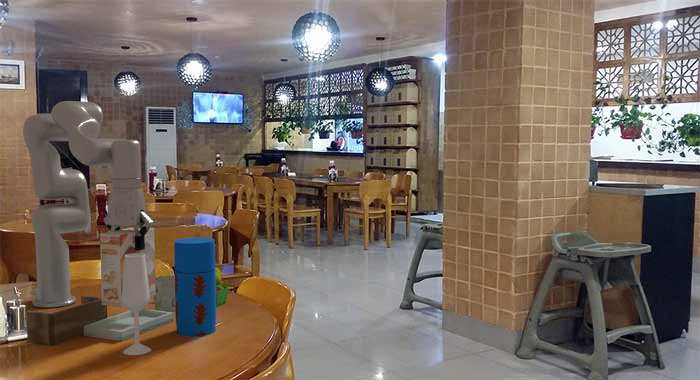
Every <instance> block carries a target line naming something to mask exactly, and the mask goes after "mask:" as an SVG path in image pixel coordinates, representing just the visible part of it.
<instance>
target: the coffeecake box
mask: <svg viewBox="0 0 700 380" xmlns="http://www.w3.org/2000/svg"><path fill="white" fill-rule="evenodd" d="M139 230H140V228H139ZM135 236H137V235H136V233H135V230H134V228H133V227H126V228H124V229H123V228H122V229H121V230H116V231H111V232H110V231H107V232H101V233H99V247H100V283H101V284H100V286H101V288H100V289H101V290H100V291H101V298H102V305H107V306H110V307H119V308H123V307H125V306H124V304H123V303H122V288H123V274H124V260H125V255H127V254H145V260H146V268H147V276H148V285H149V293H150V298H151V297H154V295H156V294H155V277H156V269H155V268H156V260H155V259H156V258H155V256H156V255H155V254H156V253H155V252H156V251H155V250H156V248H155V247H156V245H155V228H154V227H150V229H149V230H148V232H147V234H146V235H145V249H144V250H139V251H136V250H135Z"/></svg>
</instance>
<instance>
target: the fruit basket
mask: <svg viewBox="0 0 700 380" xmlns="http://www.w3.org/2000/svg"><path fill="white" fill-rule="evenodd" d="M215 269H216V307H218V306H220V305H223V304H225V303H227V299H228V296H229V295H228V294H229V292H230V289H231V286H227V285H221V283H222V272H221V270H220V268H219V266H216V268H215Z"/></svg>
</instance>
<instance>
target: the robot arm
mask: <svg viewBox="0 0 700 380" xmlns="http://www.w3.org/2000/svg"><path fill="white" fill-rule="evenodd" d="M103 122H104V114H103V110H102V108H101V107H100V106H99V105H98V104H96V102H95V103H94V102H92V101H77V100H75V101H74V100H64V101H59V102H58V103H56V104H55V105H54V106H53V107H52V109H51V113H35V114H32V115H29V116H28V117H27V118H26V119H25V121H24V123H23V127H22V135H23V140H24V143H25V146H26V148H27V151H28V154H29V157H30V165H31V175H32V183H33V184H32V185H33V190H34V191H33V192H34V195H35V196H36V198H38V199H39V200H42V201H56V200H58V201H59V200H68V202H67V203H52V204H45V205H40V206H38V207H36V208H35V209H34V210H33V211H32V213H31V226H32V229H33V233H34V240H35V254H36V281H37V282H36V285H37V287H35V288H34V290H31V292H30V295H32V296H35V299H34V300H32V306H34V307H36V308H46V309H47V308H59V307H64V306H69V305H72V304H74V303H75V302H76V301H77V298H76V296H74V295H71V274H70V271H71V270H70V249H69V245H68V243H67V242H66V240H65V239H64V238H63V237H62V234H67V233H68V234H69V233H76V232H83V231H86V230H87V229H88V228H89V226H90V223H91V208H90V201H89V200H90V199H89V198H90V197H89V192H88V191H89V190H88V183H87V182H88V181H87V179H86V176H85V175H84V173H83V172H81V171H80V170H78V169H73V168H72V169H71V168H70V169H63V168H62V166H61V165H62V164H61V156H60V153H59V151H58V150H57V149H56V147H55V146H54V145H53V144H52V143H51V142H68V147H69V151H70V153H71V154H72V156H73V157H74V158H75V159H76V160H77V161H79V162H80V163H81V164H83V165H84V166H88V167H103V166H105V167H106V166H107V167H108V166H109V167H111V178H112V179H111V180H110V185H111V186H112V189H110V190H109V193H108V194H109V195H108V201H107V215H106V216H105V217H104V218H103V222H104V223H105V225H106V228H107V229H108V230H109V232H111V231H116V230H122V229H123V228H134V230H135V233H136V235H137V236H135V250H136V251H139V250H144V249H145V235H146V234H147V232H148V230H149V229H150V228H152V225H153V223H154V222H153V220H152V219H151V218H150V217H149V216H148V215H147V205H146V199H145V194H144V190H143V189H142V165H141V164H142V161H141V158H142V157H141V155H142V154H141V144H140V143H141V142H139V141H138V140H137V139H123V138H98V137H99V135H100V132H101V126H102V124H103ZM139 228H140V230H139Z"/></svg>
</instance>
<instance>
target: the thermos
mask: <svg viewBox="0 0 700 380" xmlns="http://www.w3.org/2000/svg"><path fill="white" fill-rule="evenodd" d="M173 248H174V249H173V251H174V254H173V255H174V276H175V311H174V312H175V325H176V326H175V327H176V334H177V335H179V336H182V337H189V338H192V337H204V336H207V335H208V336H209V335H211V334H213V333H215V332H216V330H217V328H216V327H217V306H216V269H215V268H216V267H217V266H216V242H215V239H214V238H209V237H187V238H186V237H184V238H180V239H179V238H178V239H176V240H175V241H174V247H173Z"/></svg>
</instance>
